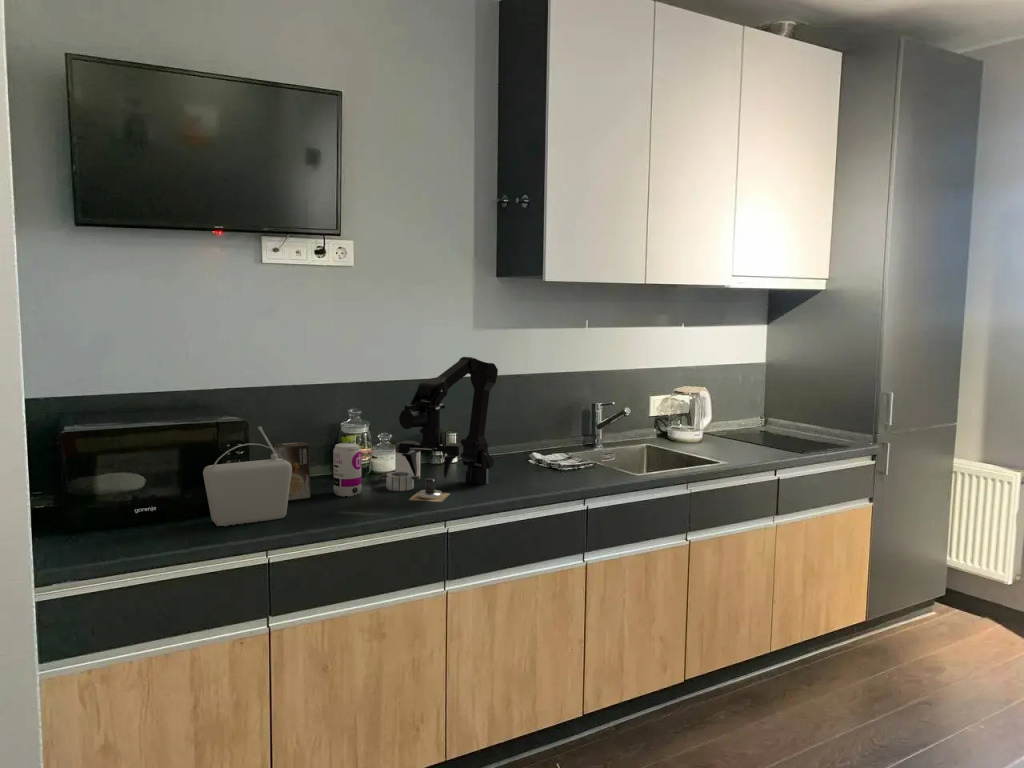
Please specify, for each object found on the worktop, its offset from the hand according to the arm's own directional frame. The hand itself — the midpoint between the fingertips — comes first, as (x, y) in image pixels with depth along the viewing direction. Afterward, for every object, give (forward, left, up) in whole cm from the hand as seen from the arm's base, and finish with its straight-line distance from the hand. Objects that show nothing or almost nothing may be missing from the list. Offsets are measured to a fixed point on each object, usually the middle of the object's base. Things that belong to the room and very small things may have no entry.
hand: (430, 476), depth 235 cm
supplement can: (+26, 0, -7) cm, 27 cm away
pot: (+12, -8, -7) cm, 16 cm away
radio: (+41, +32, -7) cm, 53 cm away
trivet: (0, 0, -7) cm, 7 cm away
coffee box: (+40, +8, -7) cm, 42 cm away
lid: (0, 0, -6) cm, 6 cm away
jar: (+14, -22, -7) cm, 27 cm away
